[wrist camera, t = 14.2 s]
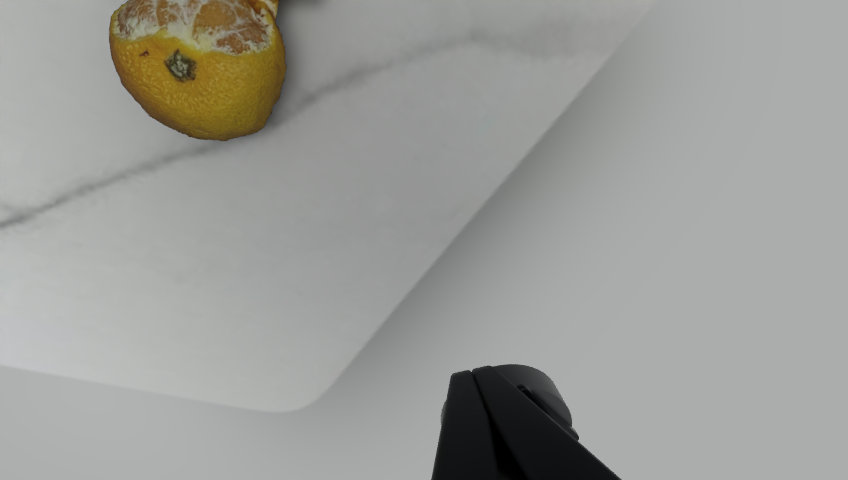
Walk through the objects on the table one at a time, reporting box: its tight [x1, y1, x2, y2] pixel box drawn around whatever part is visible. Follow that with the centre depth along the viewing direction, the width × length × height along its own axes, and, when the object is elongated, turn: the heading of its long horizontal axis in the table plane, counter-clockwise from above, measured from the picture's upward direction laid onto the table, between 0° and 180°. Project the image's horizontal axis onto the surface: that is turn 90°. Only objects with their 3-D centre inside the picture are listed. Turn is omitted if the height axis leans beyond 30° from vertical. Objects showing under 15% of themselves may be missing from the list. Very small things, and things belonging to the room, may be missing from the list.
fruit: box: [109, 0, 286, 141], centre depth 15 cm, size 8×8×4 cm
